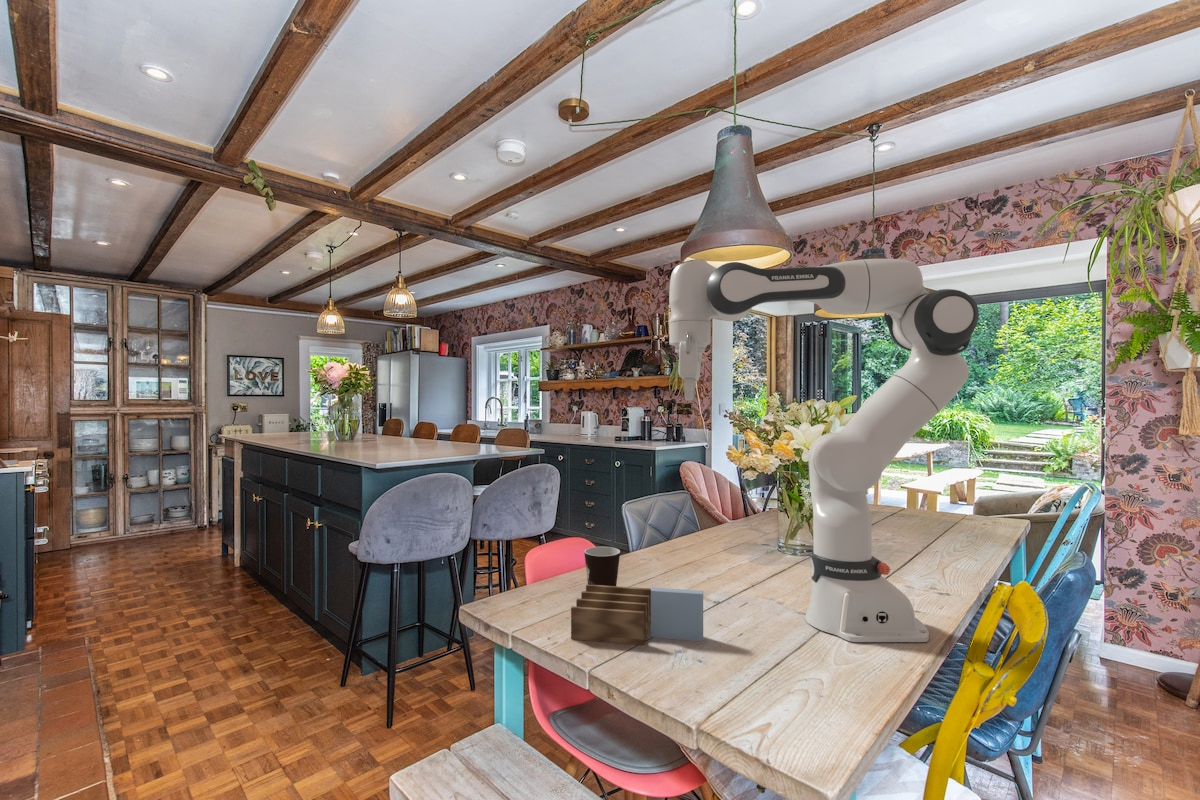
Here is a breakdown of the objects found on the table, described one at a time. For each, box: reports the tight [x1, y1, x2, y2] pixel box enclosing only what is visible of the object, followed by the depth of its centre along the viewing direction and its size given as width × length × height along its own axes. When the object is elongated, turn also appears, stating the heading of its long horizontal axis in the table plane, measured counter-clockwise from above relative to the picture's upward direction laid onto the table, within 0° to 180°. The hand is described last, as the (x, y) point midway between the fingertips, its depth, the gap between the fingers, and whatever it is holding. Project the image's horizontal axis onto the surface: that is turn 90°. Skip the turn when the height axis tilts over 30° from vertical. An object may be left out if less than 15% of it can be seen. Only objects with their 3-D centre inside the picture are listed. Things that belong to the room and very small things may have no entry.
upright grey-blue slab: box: [650, 587, 704, 642], centre depth 108 cm, size 10×2×9 cm, turn 79°
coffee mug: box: [583, 546, 621, 586], centre depth 134 cm, size 12×9×10 cm
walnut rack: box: [570, 583, 652, 646], centre depth 112 cm, size 14×14×6 cm
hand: (689, 400), depth 119 cm, fingers open, 8 cm apart
